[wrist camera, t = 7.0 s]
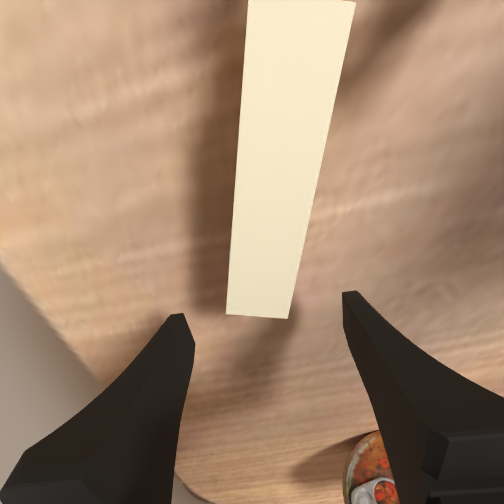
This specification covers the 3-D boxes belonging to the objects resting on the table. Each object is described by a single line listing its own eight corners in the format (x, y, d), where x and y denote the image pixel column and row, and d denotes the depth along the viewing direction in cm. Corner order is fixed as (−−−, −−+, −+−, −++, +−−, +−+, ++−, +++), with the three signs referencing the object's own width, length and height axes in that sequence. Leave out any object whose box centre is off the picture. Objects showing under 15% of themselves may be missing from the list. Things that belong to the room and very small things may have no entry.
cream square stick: (321, 27, 11) (358, 2, 7) (280, 259, 16) (288, 318, 12) (249, 18, 11) (247, -12, 7) (231, 255, 16) (224, 313, 12)
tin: (531, 397, 22) (668, 558, 15) (529, 420, 23) (652, 575, 16) (330, 438, 25) (361, 588, 18) (339, 455, 26) (371, 600, 19)
